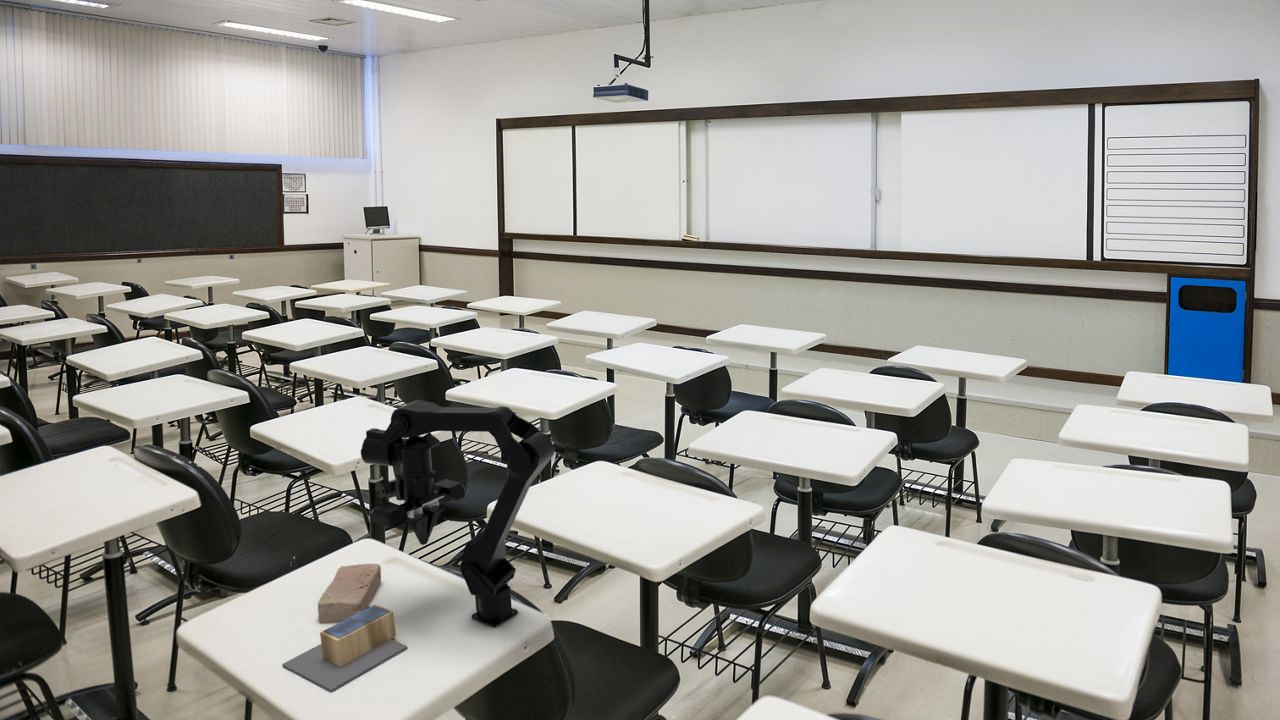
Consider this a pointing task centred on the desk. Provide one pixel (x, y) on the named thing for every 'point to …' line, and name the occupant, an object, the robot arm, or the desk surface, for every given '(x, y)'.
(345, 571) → the brick
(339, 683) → the mat
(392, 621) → the oak block
